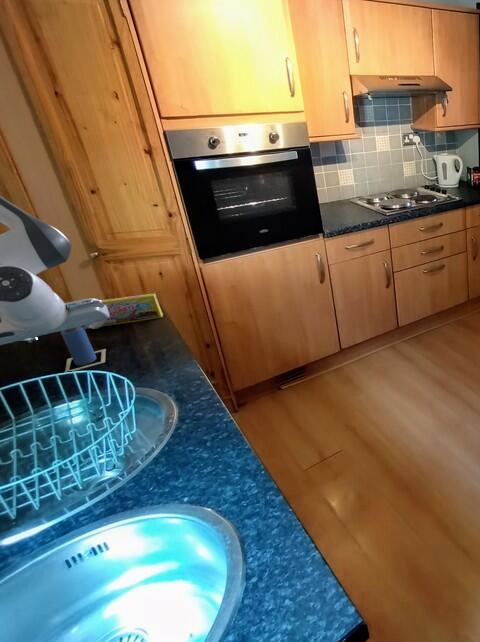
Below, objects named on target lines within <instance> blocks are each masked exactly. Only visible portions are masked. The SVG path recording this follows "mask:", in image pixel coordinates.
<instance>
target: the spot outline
mask: <svg viewBox="0 0 480 642" xmlns="http://www.w3.org/2000/svg"><path fill="white" fill-rule="evenodd" d="M106 351H107V349H106V348H103V349H99V350H96V351H94V353H95V354H98V353H101V355H100V361H97V362H95V363H94V362H93V363H90V364H87V365H82V366H79V367H77V368H73V369H71V365H72V364H71V363H72V360H73V358H72V357H70V358H67V360H66V363H65V370H64V373H65V372H67V371H73V372H76V371H80V370H83V369H86V368H90V367H93V366H97V365H100V364H104V363H106ZM73 361H74V360H73Z"/></svg>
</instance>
